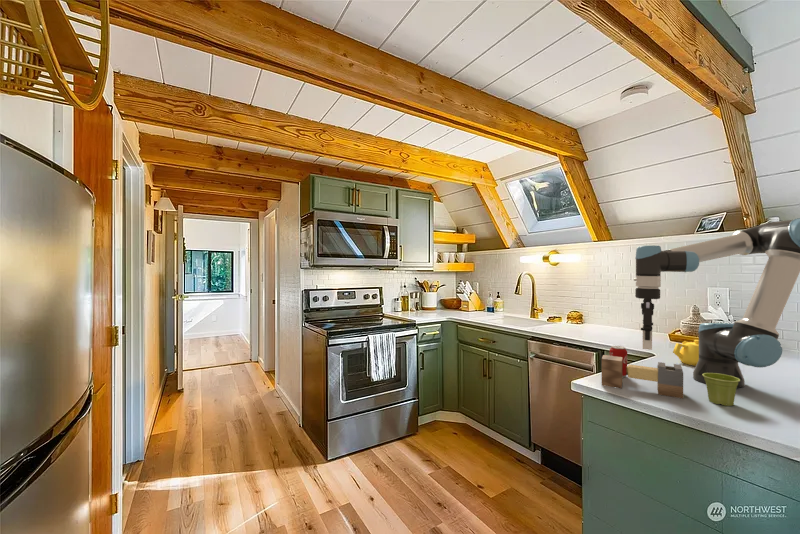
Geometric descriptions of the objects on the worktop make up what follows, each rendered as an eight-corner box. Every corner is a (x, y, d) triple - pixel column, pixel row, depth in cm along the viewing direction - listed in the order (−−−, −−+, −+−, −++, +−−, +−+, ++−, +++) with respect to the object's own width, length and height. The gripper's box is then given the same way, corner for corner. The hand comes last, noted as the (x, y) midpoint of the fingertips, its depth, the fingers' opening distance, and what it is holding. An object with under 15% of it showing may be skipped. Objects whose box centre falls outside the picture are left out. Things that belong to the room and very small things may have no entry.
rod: (680, 382, 128) (680, 370, 128) (681, 385, 124) (681, 373, 124) (626, 374, 137) (626, 364, 137) (626, 377, 133) (626, 366, 133)
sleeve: (681, 392, 129) (681, 364, 128) (683, 398, 123) (683, 369, 123) (657, 388, 132) (657, 361, 132) (658, 394, 127) (658, 366, 127)
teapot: (706, 358, 176) (706, 336, 176) (733, 369, 158) (733, 344, 158) (660, 356, 179) (660, 334, 179) (682, 367, 161) (683, 342, 161)
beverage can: (630, 378, 144) (630, 349, 144) (612, 377, 146) (612, 348, 146) (623, 374, 151) (623, 345, 151) (607, 373, 152) (607, 345, 152)
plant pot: (694, 398, 123) (694, 372, 123) (720, 397, 124) (720, 372, 124) (721, 408, 114) (721, 381, 114) (748, 407, 115) (748, 380, 115)
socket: (622, 383, 139) (622, 357, 139) (621, 388, 133) (621, 361, 133) (603, 380, 142) (603, 354, 142) (601, 385, 136) (601, 358, 136)
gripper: (635, 285, 144) (635, 338, 144) (634, 289, 123) (634, 350, 123) (659, 286, 139) (658, 341, 139) (661, 290, 119) (661, 353, 119)
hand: (647, 345), depth 131 cm, fingers open, 13 cm apart
